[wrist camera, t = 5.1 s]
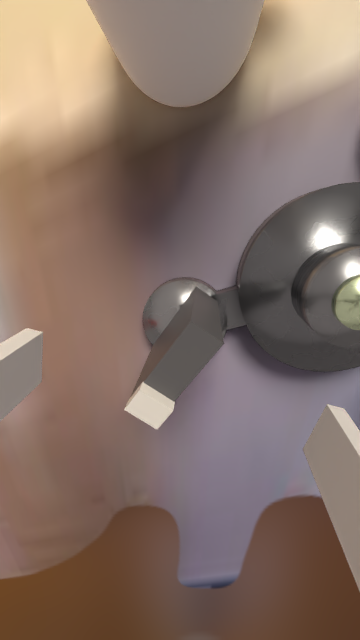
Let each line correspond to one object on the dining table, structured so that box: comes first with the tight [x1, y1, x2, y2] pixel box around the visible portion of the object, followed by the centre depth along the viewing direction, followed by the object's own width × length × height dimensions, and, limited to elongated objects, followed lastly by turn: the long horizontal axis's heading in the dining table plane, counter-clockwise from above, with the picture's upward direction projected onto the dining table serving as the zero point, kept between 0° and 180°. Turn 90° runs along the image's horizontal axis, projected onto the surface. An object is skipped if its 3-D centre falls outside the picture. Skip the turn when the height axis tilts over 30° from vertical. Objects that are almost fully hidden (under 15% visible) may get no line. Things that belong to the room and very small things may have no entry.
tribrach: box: [143, 182, 360, 372], centre depth 18 cm, size 25×24×6 cm
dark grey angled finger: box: [124, 287, 224, 429], centre depth 17 cm, size 6×2×8 cm, turn 145°
